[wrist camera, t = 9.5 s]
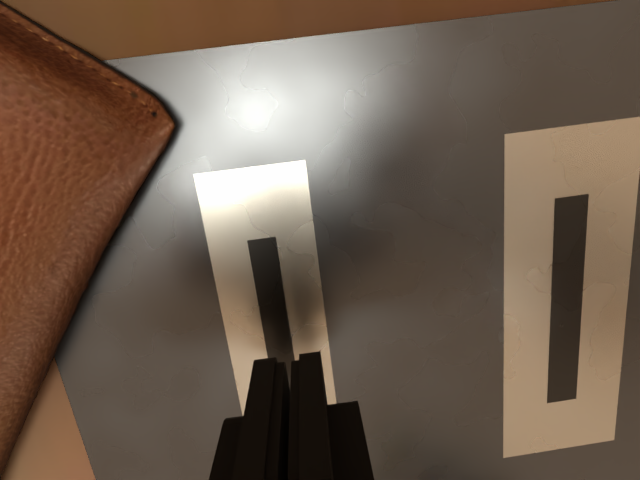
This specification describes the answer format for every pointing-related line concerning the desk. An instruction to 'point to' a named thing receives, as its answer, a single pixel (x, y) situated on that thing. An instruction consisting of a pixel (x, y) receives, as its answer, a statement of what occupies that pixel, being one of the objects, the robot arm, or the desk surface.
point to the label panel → (383, 249)
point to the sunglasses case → (59, 192)
